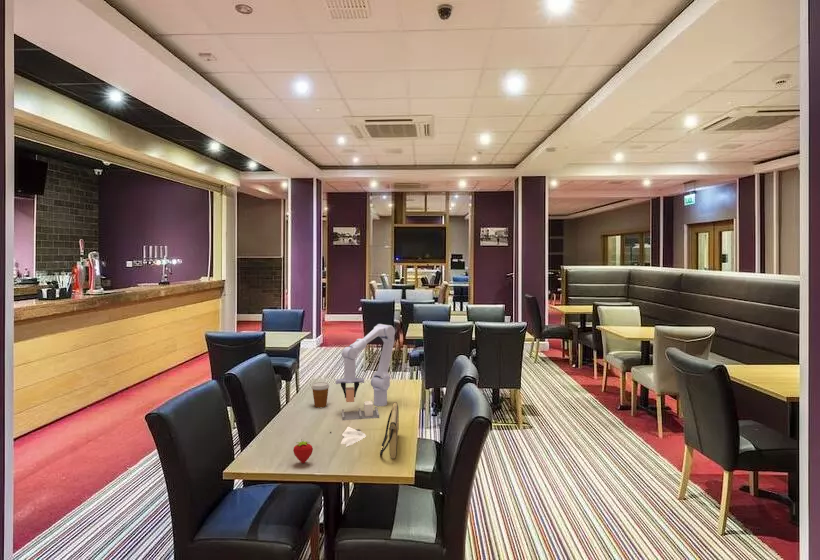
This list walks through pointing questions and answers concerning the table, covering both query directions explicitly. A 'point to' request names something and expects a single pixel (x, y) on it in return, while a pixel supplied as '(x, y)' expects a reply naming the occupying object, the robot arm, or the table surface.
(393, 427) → the clutch purse
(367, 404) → the white plug
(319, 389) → the disposable coffee cup
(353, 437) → the cloth
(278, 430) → the table surface
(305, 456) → the strawberry
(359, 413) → the slot rack
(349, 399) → the terracotta plug
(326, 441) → the table surface
